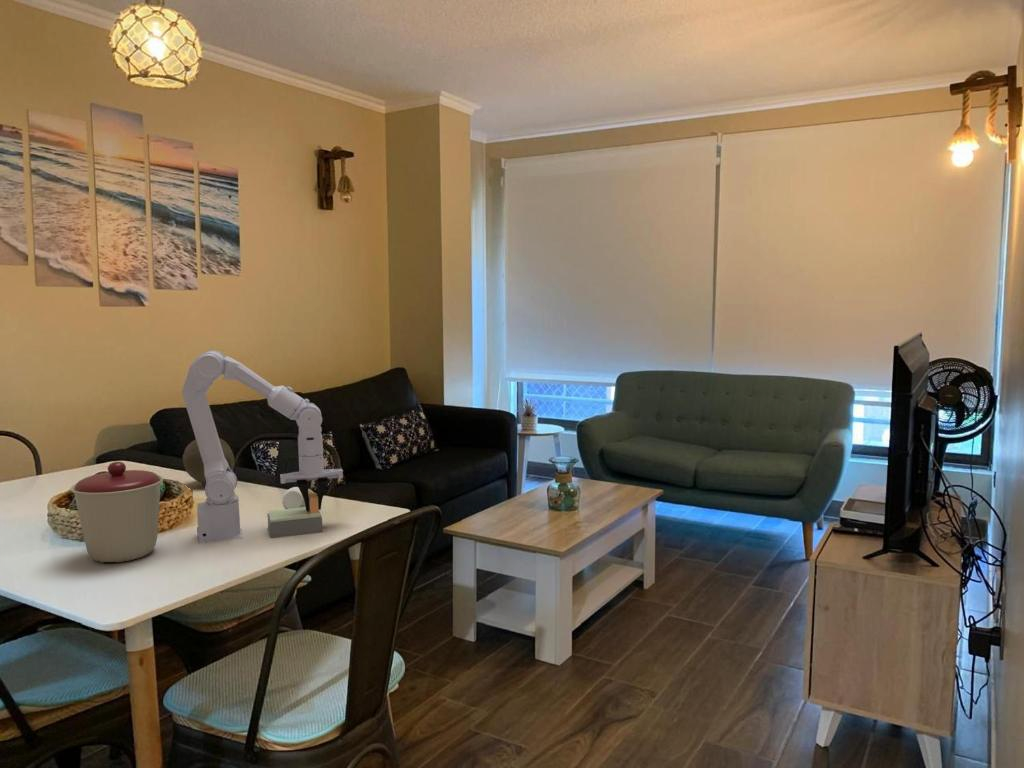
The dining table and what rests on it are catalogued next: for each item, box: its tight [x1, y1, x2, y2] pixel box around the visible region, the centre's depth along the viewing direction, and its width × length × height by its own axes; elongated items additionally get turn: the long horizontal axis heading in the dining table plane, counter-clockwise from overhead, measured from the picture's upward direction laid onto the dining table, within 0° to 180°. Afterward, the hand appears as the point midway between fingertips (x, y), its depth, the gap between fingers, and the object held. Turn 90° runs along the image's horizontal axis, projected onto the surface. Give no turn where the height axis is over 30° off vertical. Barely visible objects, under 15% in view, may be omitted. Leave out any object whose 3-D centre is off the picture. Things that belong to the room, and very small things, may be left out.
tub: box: [266, 512, 324, 539], centre depth 185 cm, size 12×9×4 cm
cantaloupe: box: [182, 437, 235, 486], centre depth 232 cm, size 14×14×15 cm
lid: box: [268, 492, 322, 522], centre depth 184 cm, size 11×8×4 cm
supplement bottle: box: [282, 486, 315, 509], centre depth 195 cm, size 7×7×13 cm
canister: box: [70, 461, 164, 563], centre depth 168 cm, size 18×18×21 cm
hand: (313, 509), depth 186 cm, fingers closed on lid, 2 cm apart
